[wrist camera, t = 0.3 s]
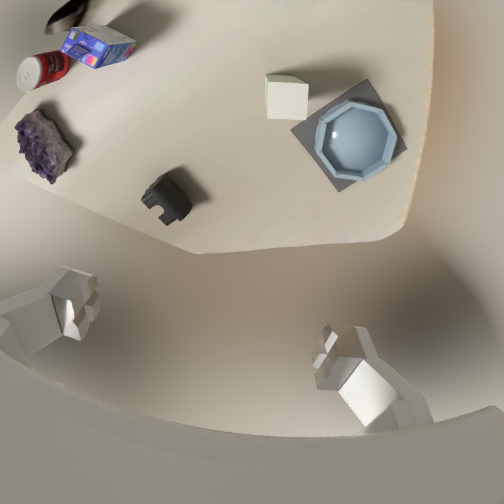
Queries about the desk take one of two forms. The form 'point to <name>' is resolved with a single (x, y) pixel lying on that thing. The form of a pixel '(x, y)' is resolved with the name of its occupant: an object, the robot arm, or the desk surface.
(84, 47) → the ink cartridge box
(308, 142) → the mat
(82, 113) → the desk surface
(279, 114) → the tea tin
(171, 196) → the end cap
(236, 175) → the desk surface
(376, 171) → the bowl
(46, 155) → the geode
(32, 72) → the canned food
